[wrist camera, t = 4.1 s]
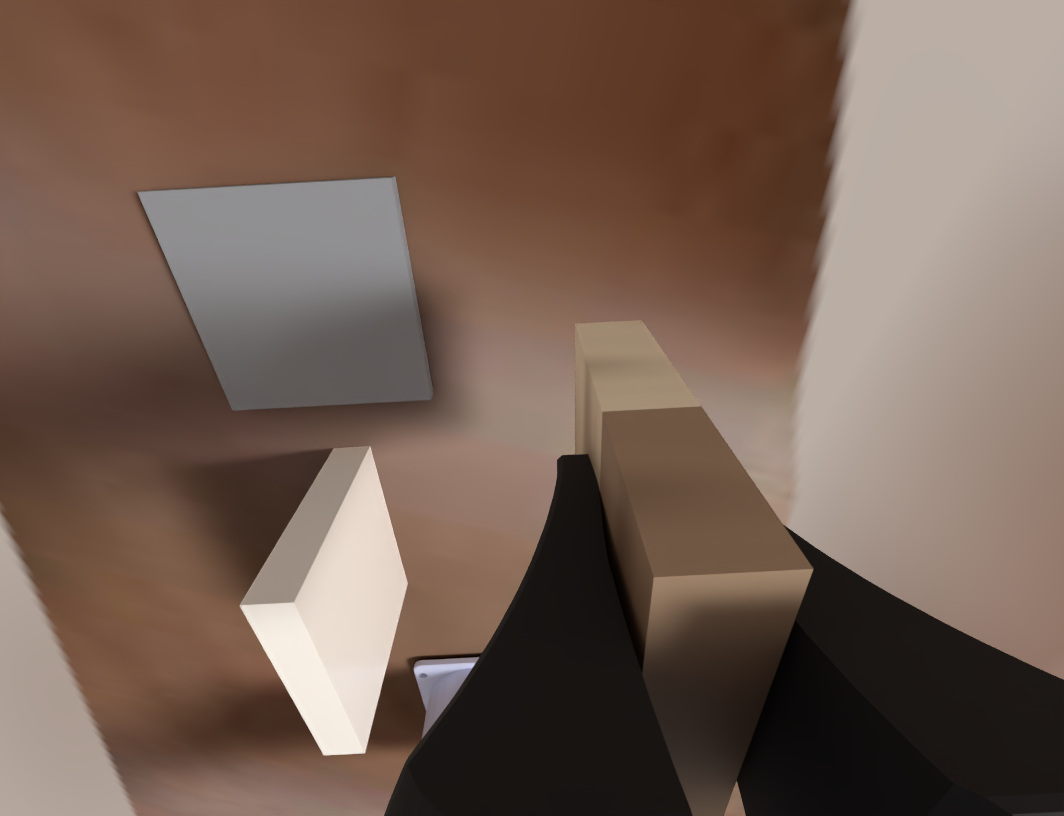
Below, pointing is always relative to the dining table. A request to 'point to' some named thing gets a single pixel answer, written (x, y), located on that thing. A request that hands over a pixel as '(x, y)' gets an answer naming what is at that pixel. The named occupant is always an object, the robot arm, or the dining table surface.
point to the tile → (333, 601)
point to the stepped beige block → (685, 554)
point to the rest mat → (298, 289)
